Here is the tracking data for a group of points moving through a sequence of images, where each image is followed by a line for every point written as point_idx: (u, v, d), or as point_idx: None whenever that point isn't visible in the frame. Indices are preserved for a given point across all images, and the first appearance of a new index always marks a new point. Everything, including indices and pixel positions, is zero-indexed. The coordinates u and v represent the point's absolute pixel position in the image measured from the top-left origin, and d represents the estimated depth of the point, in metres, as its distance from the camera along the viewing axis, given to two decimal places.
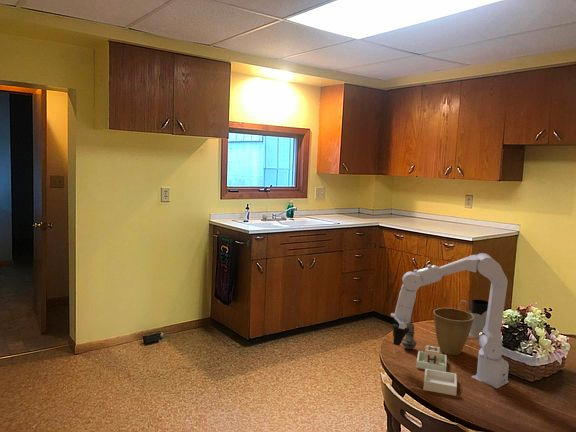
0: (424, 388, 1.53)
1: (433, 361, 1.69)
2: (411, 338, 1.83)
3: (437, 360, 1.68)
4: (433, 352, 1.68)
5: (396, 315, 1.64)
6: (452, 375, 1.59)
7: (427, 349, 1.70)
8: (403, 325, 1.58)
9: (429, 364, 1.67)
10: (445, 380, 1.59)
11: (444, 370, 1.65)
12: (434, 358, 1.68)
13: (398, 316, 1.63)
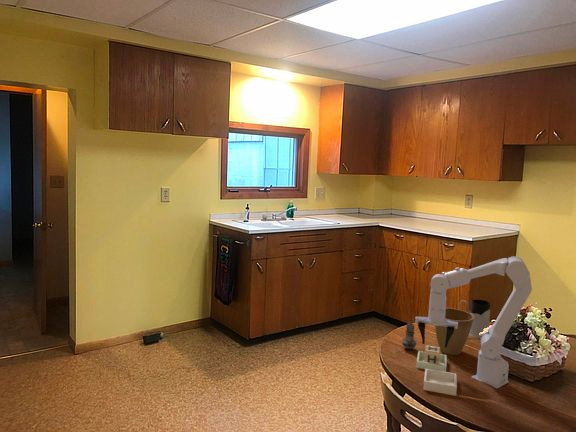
0: (424, 388, 1.53)
1: (433, 361, 1.69)
2: (411, 338, 1.83)
3: (437, 360, 1.68)
4: (433, 352, 1.68)
5: (441, 321, 1.64)
6: (452, 375, 1.59)
7: (427, 349, 1.70)
8: (457, 324, 1.64)
9: (429, 364, 1.67)
10: (445, 380, 1.59)
11: (444, 370, 1.65)
12: (434, 358, 1.68)
13: (443, 320, 1.64)
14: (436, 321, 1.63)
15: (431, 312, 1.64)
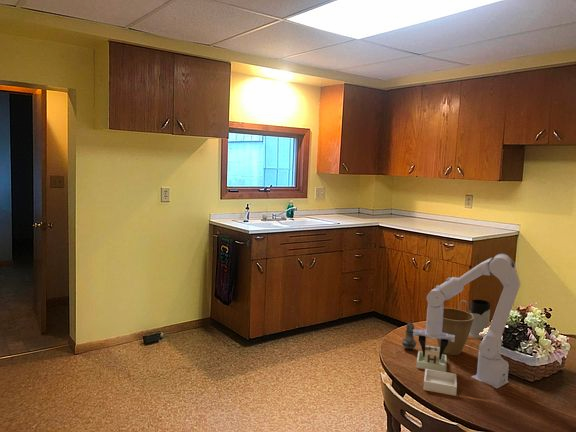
0: (424, 388, 1.53)
1: (433, 361, 1.69)
2: (411, 338, 1.83)
3: (437, 360, 1.68)
4: (433, 352, 1.68)
5: (438, 334, 1.67)
6: (452, 375, 1.59)
7: (427, 349, 1.70)
8: (454, 337, 1.68)
9: (429, 364, 1.67)
10: (445, 380, 1.59)
11: (444, 370, 1.65)
12: (434, 358, 1.68)
13: (440, 334, 1.68)
14: (433, 334, 1.67)
15: (428, 325, 1.68)
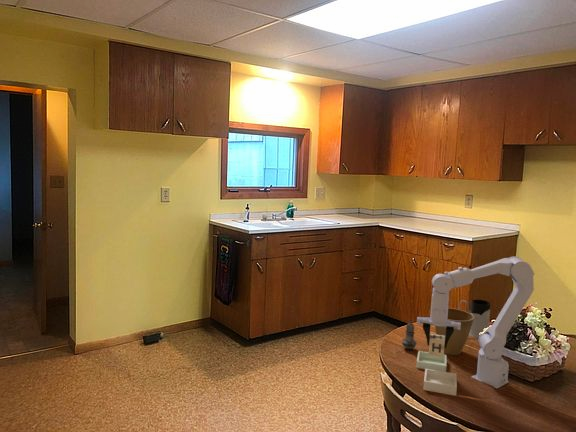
0: (424, 388, 1.53)
1: (438, 350, 1.61)
2: (411, 338, 1.83)
3: (442, 349, 1.61)
4: (438, 341, 1.61)
5: (444, 321, 1.60)
6: (452, 375, 1.59)
7: (432, 337, 1.63)
8: (460, 325, 1.61)
9: (429, 364, 1.67)
10: (445, 380, 1.59)
11: (444, 370, 1.65)
12: (438, 346, 1.61)
13: (445, 321, 1.61)
14: (438, 322, 1.60)
15: (433, 312, 1.61)
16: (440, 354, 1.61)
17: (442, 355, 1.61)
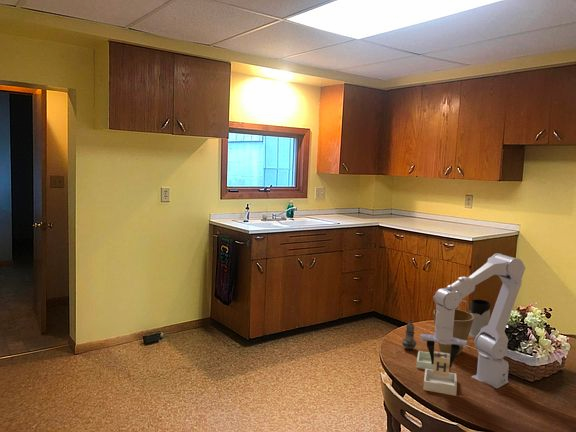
0: (424, 388, 1.53)
1: (443, 369, 1.53)
2: (411, 338, 1.83)
3: (447, 368, 1.52)
4: (443, 359, 1.53)
5: (449, 339, 1.52)
6: (452, 375, 1.59)
7: (436, 356, 1.54)
8: (466, 342, 1.52)
9: (429, 364, 1.67)
10: (445, 380, 1.59)
11: None
12: (443, 366, 1.53)
13: (451, 339, 1.52)
14: (443, 339, 1.51)
15: (438, 330, 1.52)
16: (445, 373, 1.53)
17: (447, 375, 1.53)
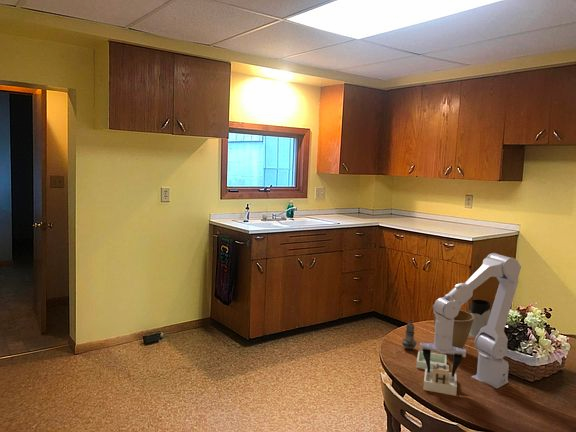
0: (424, 388, 1.53)
1: (442, 381, 1.53)
2: (411, 338, 1.83)
3: (446, 380, 1.53)
4: (442, 371, 1.53)
5: (448, 348, 1.52)
6: None
7: (435, 367, 1.55)
8: (465, 351, 1.53)
9: None
10: None
11: None
12: (442, 377, 1.53)
13: (450, 348, 1.52)
14: (442, 349, 1.52)
15: (437, 339, 1.53)
16: None
17: None
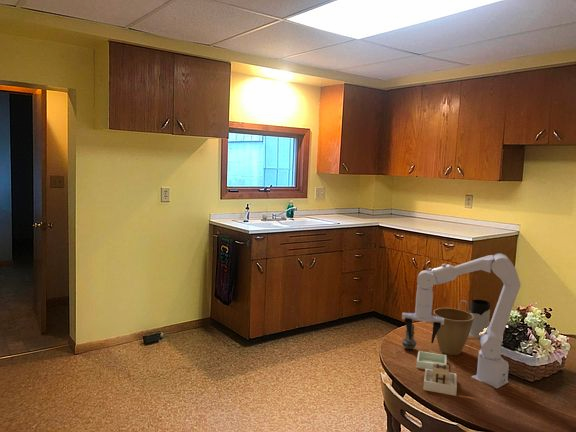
0: (424, 388, 1.53)
1: (442, 381, 1.53)
2: (411, 338, 1.83)
3: (446, 380, 1.53)
4: (442, 371, 1.53)
5: (428, 317, 1.64)
6: (452, 375, 1.59)
7: (435, 367, 1.55)
8: None
9: (429, 364, 1.67)
10: None
11: None
12: (442, 377, 1.53)
13: (430, 316, 1.65)
14: (422, 317, 1.64)
15: (417, 308, 1.65)
16: None
17: None
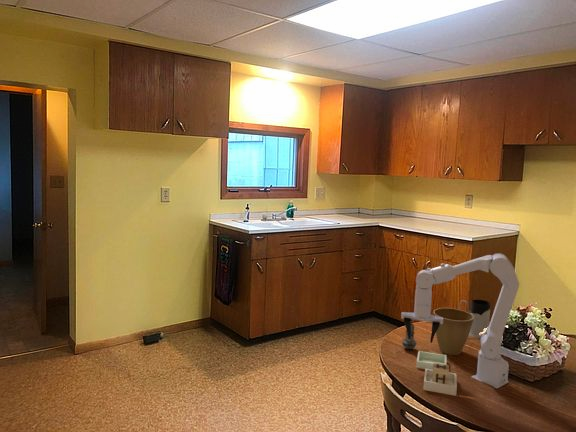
0: (424, 388, 1.53)
1: (442, 381, 1.53)
2: (411, 338, 1.83)
3: (446, 380, 1.53)
4: (442, 371, 1.53)
5: (427, 316, 1.65)
6: (452, 375, 1.59)
7: (435, 367, 1.55)
8: None
9: (429, 364, 1.67)
10: None
11: None
12: (442, 377, 1.53)
13: (428, 316, 1.65)
14: (421, 316, 1.65)
15: (416, 307, 1.66)
16: None
17: None
